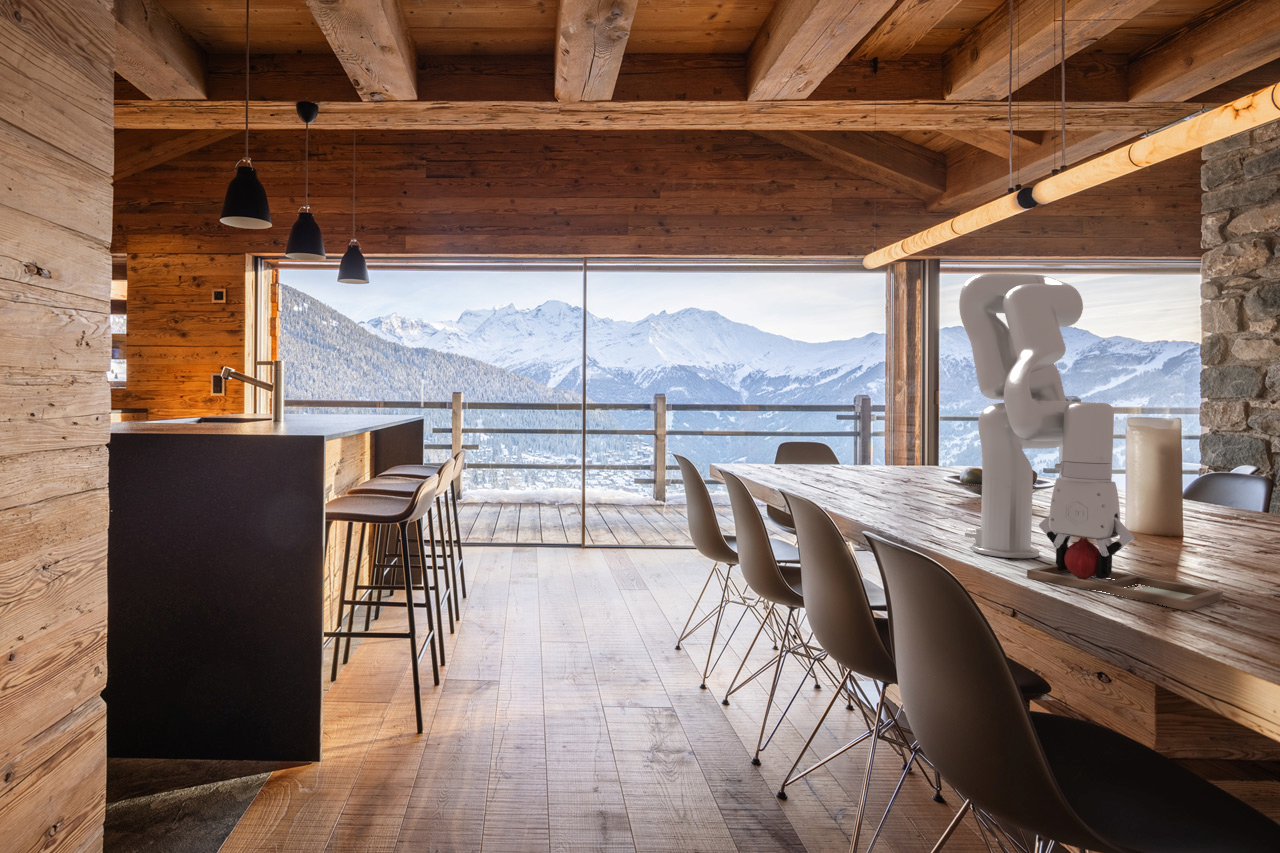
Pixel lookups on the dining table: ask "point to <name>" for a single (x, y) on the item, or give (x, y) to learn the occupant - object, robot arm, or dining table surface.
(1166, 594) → the rail frame
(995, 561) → the dining table surface
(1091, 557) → the onion
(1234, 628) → the dining table surface
